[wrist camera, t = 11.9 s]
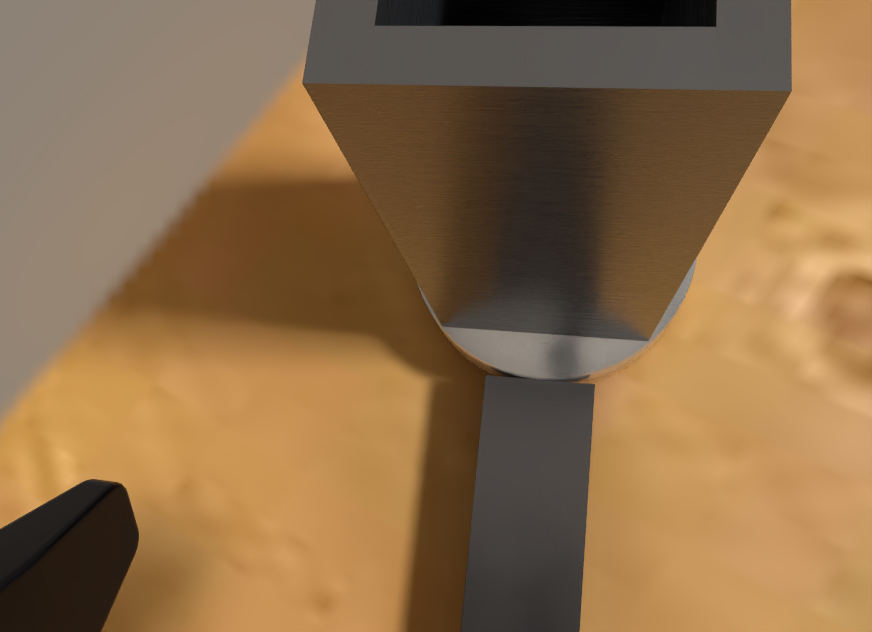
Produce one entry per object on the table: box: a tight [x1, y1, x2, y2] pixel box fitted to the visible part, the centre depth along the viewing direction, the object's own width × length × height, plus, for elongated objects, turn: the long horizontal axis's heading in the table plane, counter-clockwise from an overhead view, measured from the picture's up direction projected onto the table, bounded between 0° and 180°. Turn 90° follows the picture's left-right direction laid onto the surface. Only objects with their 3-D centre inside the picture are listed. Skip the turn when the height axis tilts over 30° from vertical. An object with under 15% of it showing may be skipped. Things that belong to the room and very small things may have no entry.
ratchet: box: [417, 259, 696, 632], centre depth 20 cm, size 19×8×4 cm, turn 174°
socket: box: [302, 0, 792, 341], centre depth 15 cm, size 6×6×12 cm
